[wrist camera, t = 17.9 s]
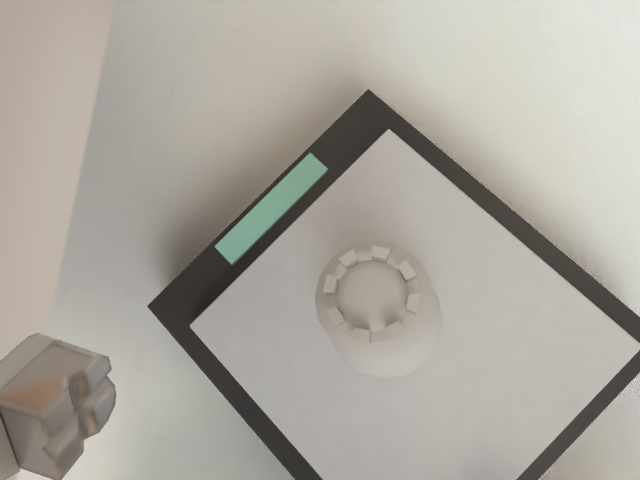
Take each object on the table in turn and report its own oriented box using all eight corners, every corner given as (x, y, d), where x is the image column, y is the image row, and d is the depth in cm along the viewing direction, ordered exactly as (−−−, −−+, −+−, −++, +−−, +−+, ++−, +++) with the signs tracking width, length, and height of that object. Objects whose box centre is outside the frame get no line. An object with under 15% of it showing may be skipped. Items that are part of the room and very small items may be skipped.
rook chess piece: (356, 248, 23) (329, 186, 15) (460, 292, 22) (486, 248, 14) (311, 348, 22) (258, 336, 15) (415, 398, 21) (417, 413, 14)
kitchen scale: (174, 313, 28) (138, 303, 24) (372, 117, 28) (367, 79, 25) (410, 584, 23) (410, 624, 20) (638, 345, 24) (679, 340, 20)
